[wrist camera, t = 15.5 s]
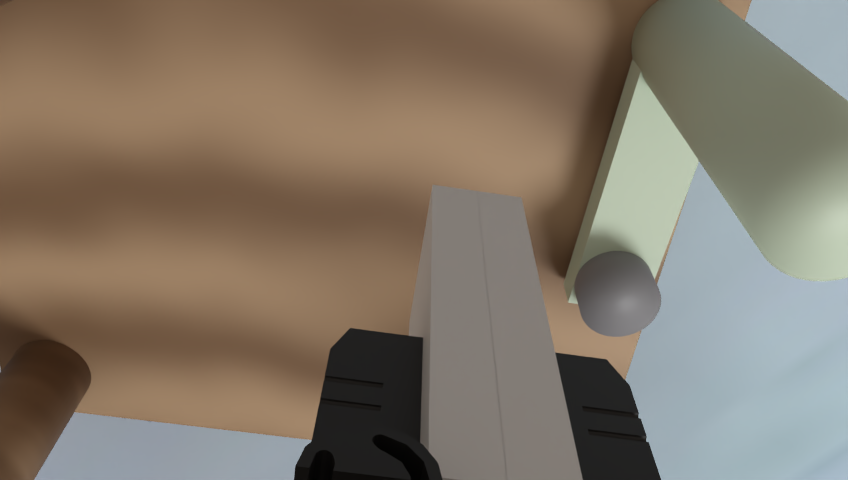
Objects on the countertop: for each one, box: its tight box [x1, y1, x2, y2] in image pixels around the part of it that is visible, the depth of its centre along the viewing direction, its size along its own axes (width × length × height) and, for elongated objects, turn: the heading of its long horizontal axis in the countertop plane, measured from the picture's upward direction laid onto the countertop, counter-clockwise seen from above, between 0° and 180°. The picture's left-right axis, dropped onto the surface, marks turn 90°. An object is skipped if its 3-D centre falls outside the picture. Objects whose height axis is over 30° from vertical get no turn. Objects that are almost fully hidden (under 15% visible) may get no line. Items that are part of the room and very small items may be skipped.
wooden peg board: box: [0, 0, 751, 480], centre depth 24 cm, size 20×24×14 cm
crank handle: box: [564, 0, 848, 337], centre depth 21 cm, size 11×3×11 cm, turn 170°
